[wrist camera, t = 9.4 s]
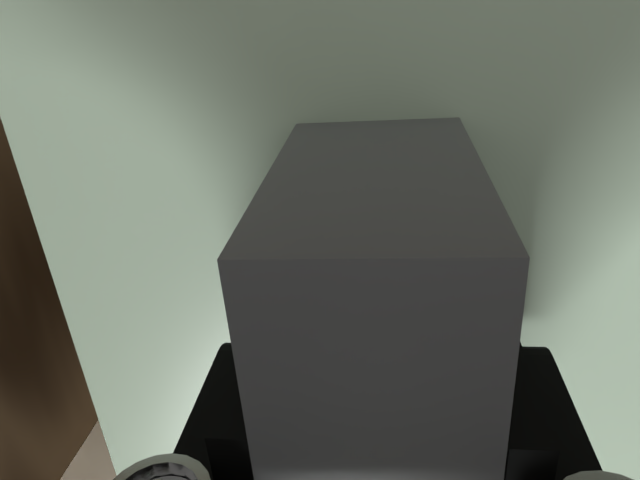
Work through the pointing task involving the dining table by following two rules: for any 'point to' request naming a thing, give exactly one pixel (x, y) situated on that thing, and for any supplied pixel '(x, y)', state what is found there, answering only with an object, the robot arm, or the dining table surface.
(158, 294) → the lid
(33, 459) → the walnut box
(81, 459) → the dining table surface
